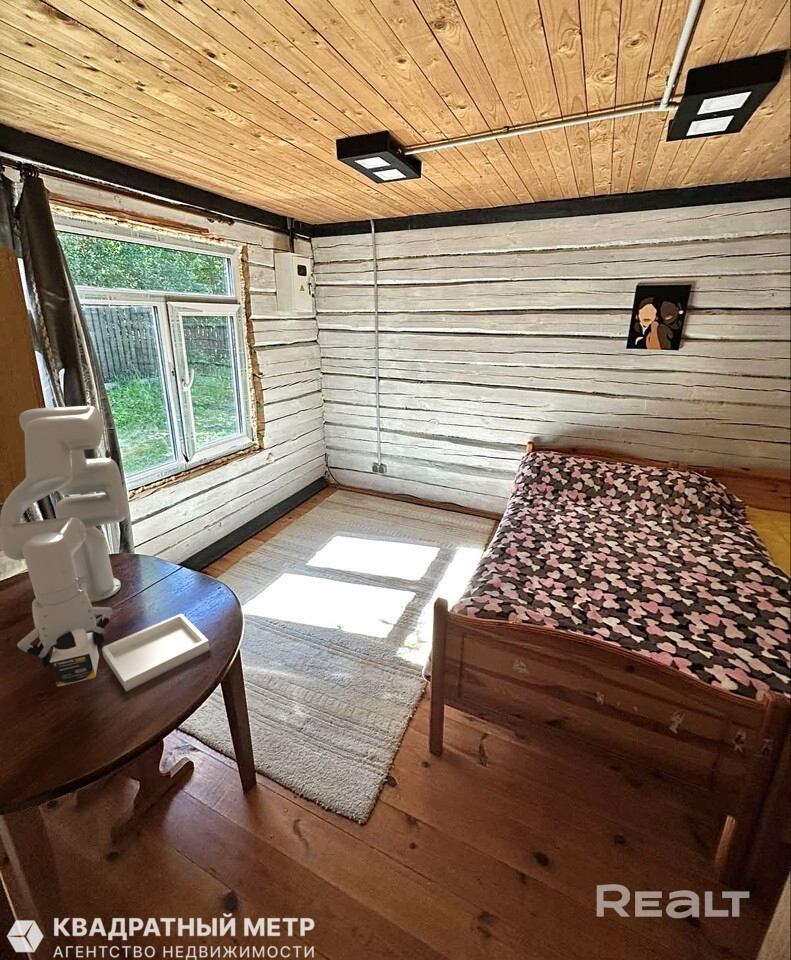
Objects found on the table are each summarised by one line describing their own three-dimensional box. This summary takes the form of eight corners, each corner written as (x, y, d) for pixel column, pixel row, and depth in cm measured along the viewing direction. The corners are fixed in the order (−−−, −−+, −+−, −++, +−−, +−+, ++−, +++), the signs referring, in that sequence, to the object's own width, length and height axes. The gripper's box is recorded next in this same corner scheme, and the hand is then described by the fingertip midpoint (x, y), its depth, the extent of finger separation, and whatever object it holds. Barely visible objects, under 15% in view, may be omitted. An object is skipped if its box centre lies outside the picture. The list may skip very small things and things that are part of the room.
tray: (103, 657, 118) (101, 647, 117) (182, 622, 132) (181, 613, 131) (126, 691, 108) (124, 681, 107) (209, 649, 122) (208, 640, 121)
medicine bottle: (56, 687, 100) (43, 642, 95) (62, 664, 106) (50, 621, 101) (95, 678, 103) (84, 633, 98) (99, 656, 109) (89, 613, 104)
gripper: (99, 567, 105) (113, 629, 112) (1, 599, 93) (23, 667, 100) (110, 581, 101) (124, 645, 107) (9, 617, 89) (31, 687, 95)
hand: (75, 656), depth 103 cm, fingers closed on medicine bottle, 9 cm apart
